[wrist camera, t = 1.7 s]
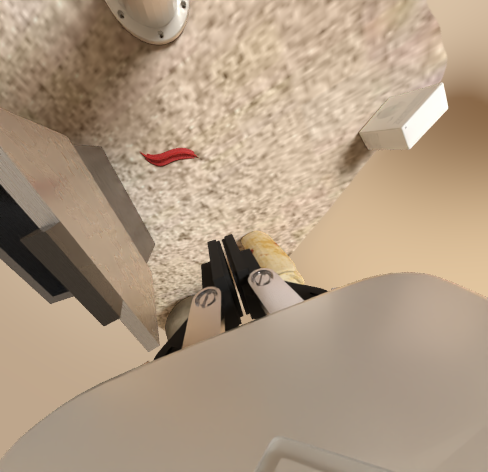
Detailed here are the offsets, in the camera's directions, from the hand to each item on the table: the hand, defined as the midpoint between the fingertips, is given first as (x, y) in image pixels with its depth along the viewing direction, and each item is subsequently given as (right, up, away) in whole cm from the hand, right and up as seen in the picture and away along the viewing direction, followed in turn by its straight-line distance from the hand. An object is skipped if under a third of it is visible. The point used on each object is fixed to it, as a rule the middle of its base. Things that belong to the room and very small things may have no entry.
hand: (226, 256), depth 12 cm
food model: (+5, 0, +38) cm, 39 cm away
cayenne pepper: (-14, +18, +25) cm, 34 cm away
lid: (-15, +1, +8) cm, 17 cm away
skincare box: (+36, +30, +33) cm, 57 cm away
